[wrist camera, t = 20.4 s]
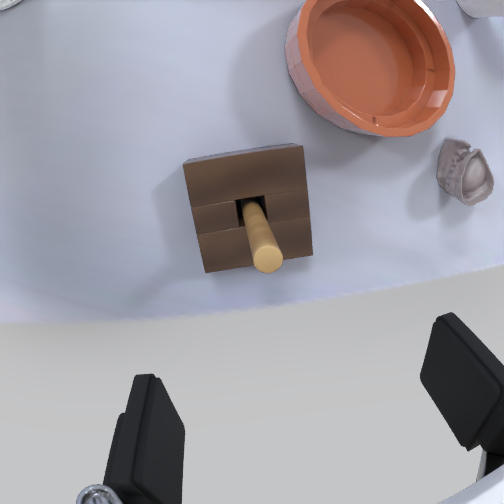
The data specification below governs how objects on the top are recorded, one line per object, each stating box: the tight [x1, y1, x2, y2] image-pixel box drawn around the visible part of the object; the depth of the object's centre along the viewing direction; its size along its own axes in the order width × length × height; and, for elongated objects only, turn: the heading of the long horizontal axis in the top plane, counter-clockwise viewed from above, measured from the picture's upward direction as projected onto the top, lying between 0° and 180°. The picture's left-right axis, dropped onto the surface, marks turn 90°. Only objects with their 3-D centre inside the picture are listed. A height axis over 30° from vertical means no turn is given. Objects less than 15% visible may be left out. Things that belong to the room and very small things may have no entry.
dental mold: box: [436, 138, 494, 206], centre depth 30 cm, size 8×7×5 cm
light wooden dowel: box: [241, 197, 283, 273], centre depth 25 cm, size 2×2×14 cm
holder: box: [183, 143, 313, 273], centre depth 30 cm, size 11×11×4 cm
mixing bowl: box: [285, 0, 455, 137], centre depth 24 cm, size 17×17×6 cm
